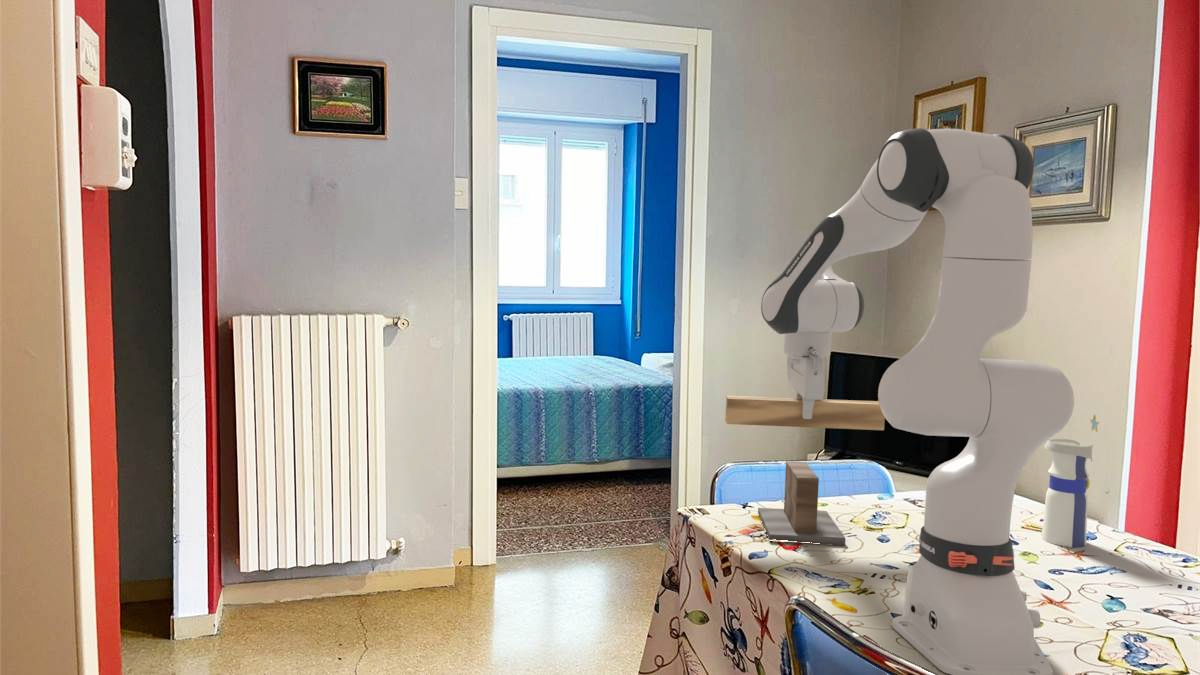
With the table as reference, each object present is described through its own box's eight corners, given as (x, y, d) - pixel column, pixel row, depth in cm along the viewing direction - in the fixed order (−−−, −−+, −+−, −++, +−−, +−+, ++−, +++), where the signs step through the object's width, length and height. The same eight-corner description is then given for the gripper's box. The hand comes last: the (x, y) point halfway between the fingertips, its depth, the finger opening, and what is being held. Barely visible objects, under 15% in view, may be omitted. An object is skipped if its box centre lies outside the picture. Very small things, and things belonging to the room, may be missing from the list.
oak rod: (884, 430, 161) (885, 404, 161) (726, 423, 164) (727, 398, 163) (878, 426, 165) (880, 401, 165) (725, 420, 168) (726, 395, 167)
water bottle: (1063, 532, 169) (1071, 409, 167) (1098, 545, 160) (1107, 416, 159) (1029, 534, 167) (1037, 410, 165) (1063, 548, 158) (1072, 417, 156)
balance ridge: (845, 545, 157) (848, 482, 156) (769, 542, 157) (771, 479, 157) (825, 518, 174) (828, 461, 174) (757, 514, 175) (760, 458, 174)
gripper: (835, 351, 153) (831, 426, 154) (814, 342, 173) (811, 408, 174) (799, 350, 153) (796, 424, 154) (783, 341, 173) (780, 407, 174)
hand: (804, 416), depth 164 cm, fingers closed on oak rod, 4 cm apart
